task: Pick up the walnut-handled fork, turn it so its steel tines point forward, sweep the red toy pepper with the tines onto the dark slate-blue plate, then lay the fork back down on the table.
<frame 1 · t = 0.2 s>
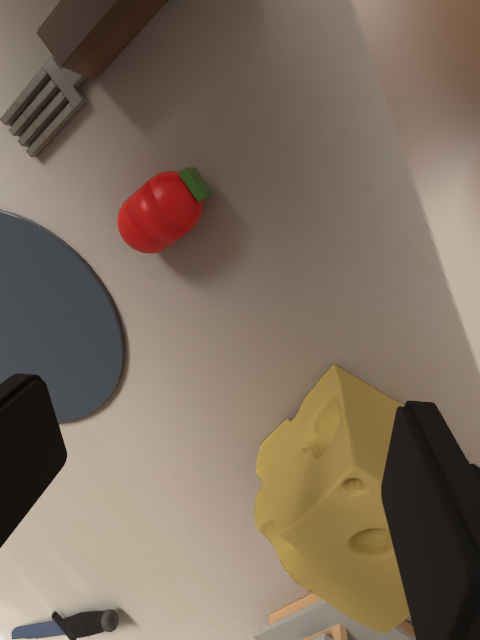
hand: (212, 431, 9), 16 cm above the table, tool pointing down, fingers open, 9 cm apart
knife: (59, 619, 48), on the table
fork: (84, 66, 20), on the table
red toy pepper: (170, 210, 23), on the table
cheese: (348, 431, 28), on the table
desk lamp: (348, 624, 39), on the table
plate: (14, 328, 29), on the table
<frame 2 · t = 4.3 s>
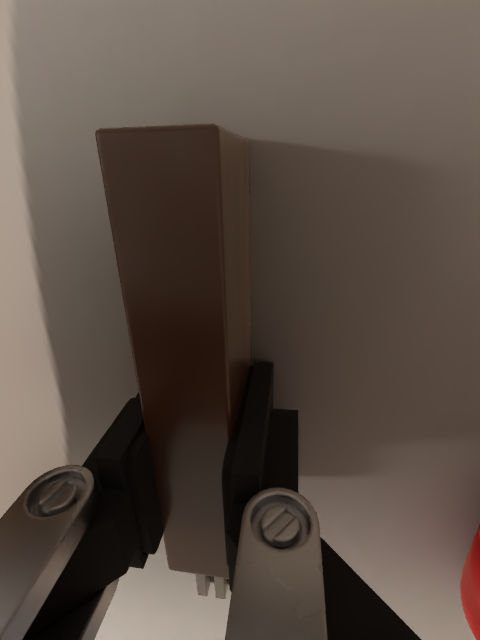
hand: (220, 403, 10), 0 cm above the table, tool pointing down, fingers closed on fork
fork: (225, 474, 12), on the table, touching gripper
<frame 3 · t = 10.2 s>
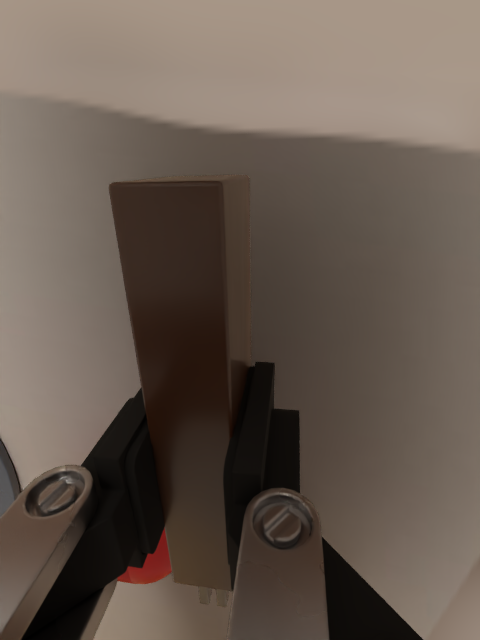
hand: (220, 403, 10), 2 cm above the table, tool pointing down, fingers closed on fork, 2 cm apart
fork: (227, 487, 12), point 2 cm above the table, touching gripper, red toy pepper
red toy pepper: (143, 489, 16), on the table, touching fork
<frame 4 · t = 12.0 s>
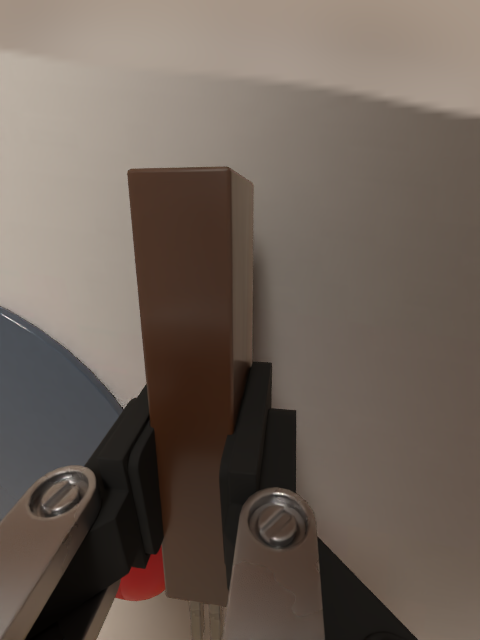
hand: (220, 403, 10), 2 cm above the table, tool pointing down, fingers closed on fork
fork: (224, 502, 12), point 3 cm above the table, tilted 7°, touching gripper
red toy pepper: (141, 505, 16), on the table, tilted 9°, touching plate
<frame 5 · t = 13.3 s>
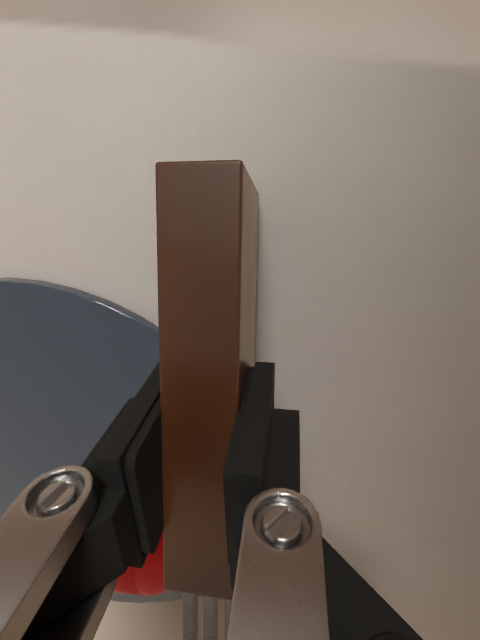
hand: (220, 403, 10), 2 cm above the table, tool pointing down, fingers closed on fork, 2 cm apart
fork: (224, 507, 12), point 3 cm above the table, tilted 15°, touching gripper
red toy pepper: (149, 512, 16), point 1 cm above the table, tilted 24°, touching plate
plate: (68, 471, 16), on the table
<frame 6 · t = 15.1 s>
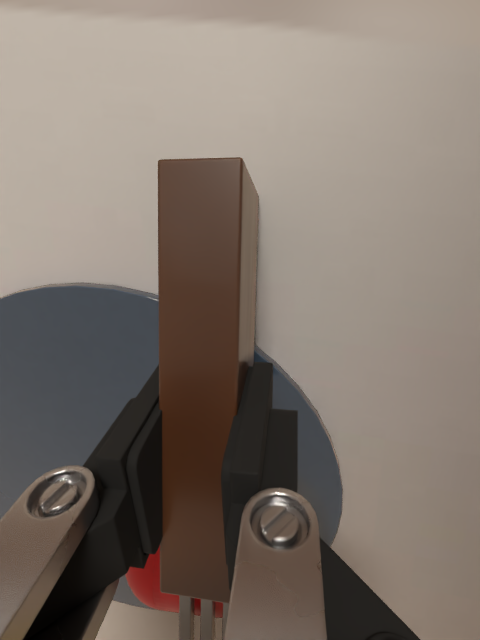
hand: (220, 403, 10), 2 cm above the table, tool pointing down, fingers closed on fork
fork: (222, 511, 11), point 3 cm above the table, tilted 17°, touching gripper
red toy pepper: (206, 519, 16), resting on plate, tilted 10°
plate: (127, 480, 16), on the table
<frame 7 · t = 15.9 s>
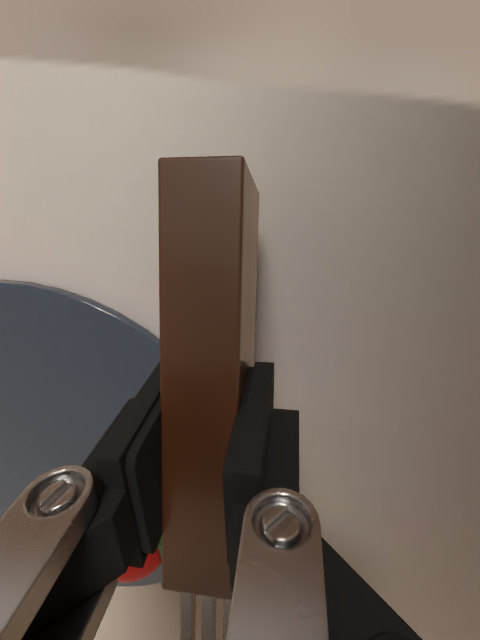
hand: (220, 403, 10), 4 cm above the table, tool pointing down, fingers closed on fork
fork: (223, 508, 11), point 4 cm above the table, tilted 16°, touching gripper
red toy pepper: (128, 494, 17), resting on plate
plate: (58, 460, 18), on the table
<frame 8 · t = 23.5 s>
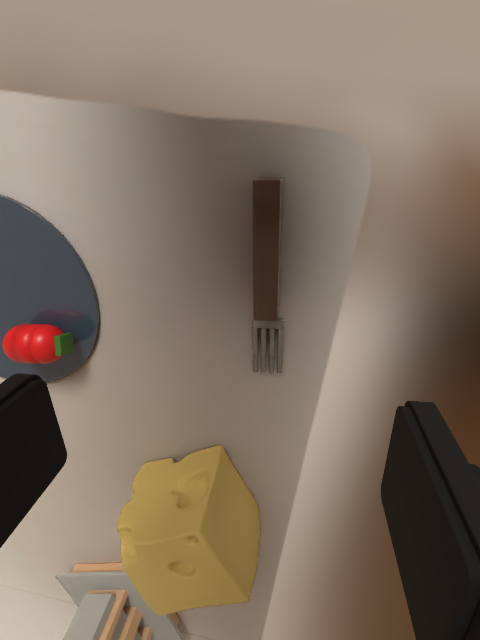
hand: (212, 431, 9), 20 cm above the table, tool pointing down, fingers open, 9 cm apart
fork: (268, 305, 29), on the table
red toy pepper: (33, 324, 32), point 2 cm above the table, tilted 74°, touching plate
cheese: (204, 482, 40), on the table
desk lamp: (129, 590, 51), on the table
plate: (4, 296, 33), on the table
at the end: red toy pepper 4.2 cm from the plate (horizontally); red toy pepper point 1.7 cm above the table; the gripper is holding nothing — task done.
